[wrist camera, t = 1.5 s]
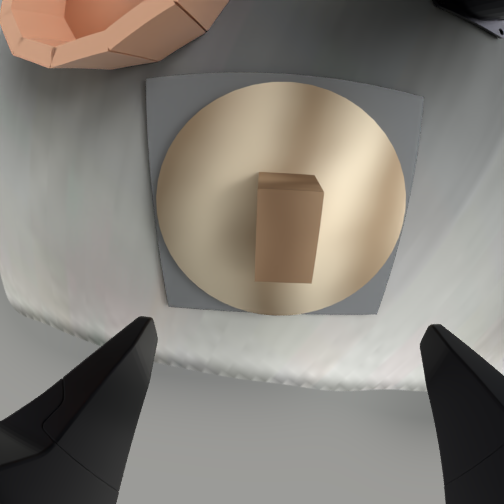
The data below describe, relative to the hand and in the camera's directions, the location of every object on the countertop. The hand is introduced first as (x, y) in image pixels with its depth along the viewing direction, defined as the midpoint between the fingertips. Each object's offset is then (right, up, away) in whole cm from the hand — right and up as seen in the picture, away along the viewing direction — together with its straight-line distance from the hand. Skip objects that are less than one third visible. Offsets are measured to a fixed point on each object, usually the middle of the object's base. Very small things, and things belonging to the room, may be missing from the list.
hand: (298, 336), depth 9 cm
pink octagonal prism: (-8, +19, +2) cm, 20 cm away
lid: (+1, +5, +9) cm, 10 cm away
